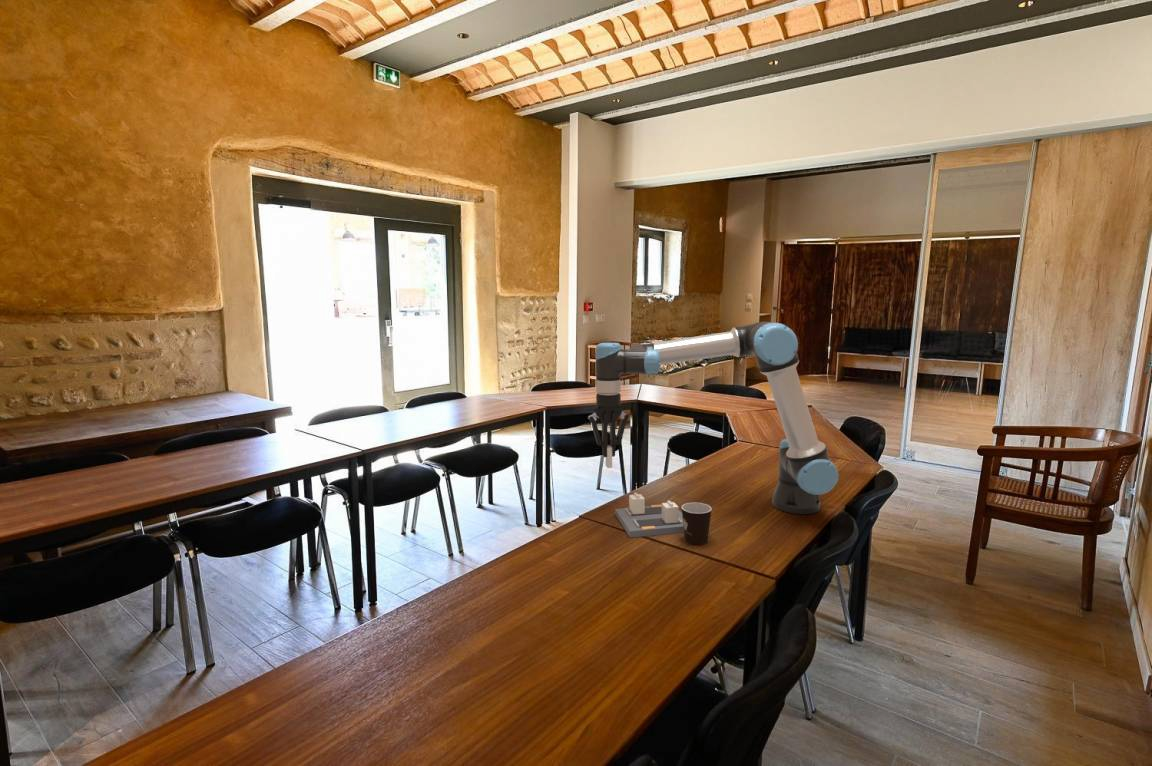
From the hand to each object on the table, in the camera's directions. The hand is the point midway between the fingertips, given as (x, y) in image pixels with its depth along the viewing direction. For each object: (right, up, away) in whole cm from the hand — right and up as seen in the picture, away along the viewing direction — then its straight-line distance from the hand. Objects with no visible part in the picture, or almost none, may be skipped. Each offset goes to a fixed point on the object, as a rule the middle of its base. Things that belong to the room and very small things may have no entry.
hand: (608, 466), depth 178 cm
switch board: (+14, -18, +1) cm, 23 cm away
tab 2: (+19, -16, -3) cm, 25 cm away
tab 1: (+9, -15, +4) cm, 18 cm away
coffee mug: (+25, -20, -11) cm, 34 cm away
